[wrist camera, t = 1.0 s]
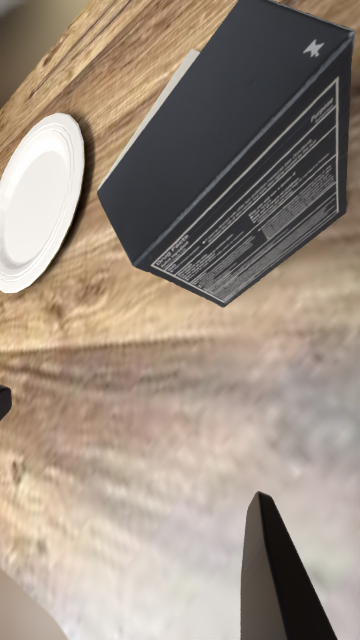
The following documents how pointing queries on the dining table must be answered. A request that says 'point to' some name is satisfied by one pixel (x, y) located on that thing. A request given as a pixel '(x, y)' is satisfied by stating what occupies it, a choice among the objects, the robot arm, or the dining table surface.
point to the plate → (39, 199)
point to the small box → (239, 154)
